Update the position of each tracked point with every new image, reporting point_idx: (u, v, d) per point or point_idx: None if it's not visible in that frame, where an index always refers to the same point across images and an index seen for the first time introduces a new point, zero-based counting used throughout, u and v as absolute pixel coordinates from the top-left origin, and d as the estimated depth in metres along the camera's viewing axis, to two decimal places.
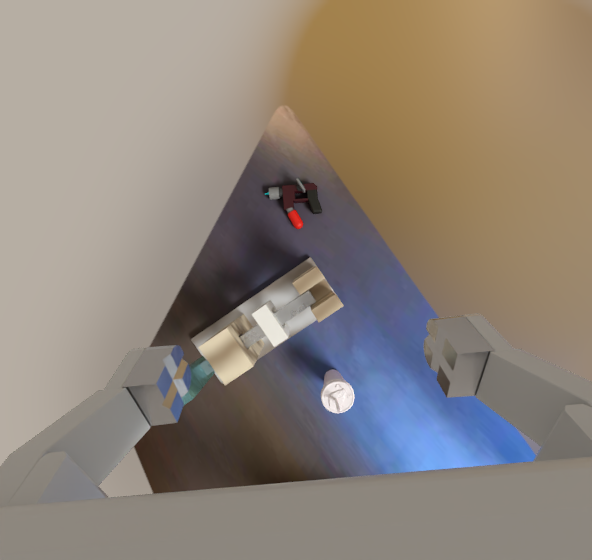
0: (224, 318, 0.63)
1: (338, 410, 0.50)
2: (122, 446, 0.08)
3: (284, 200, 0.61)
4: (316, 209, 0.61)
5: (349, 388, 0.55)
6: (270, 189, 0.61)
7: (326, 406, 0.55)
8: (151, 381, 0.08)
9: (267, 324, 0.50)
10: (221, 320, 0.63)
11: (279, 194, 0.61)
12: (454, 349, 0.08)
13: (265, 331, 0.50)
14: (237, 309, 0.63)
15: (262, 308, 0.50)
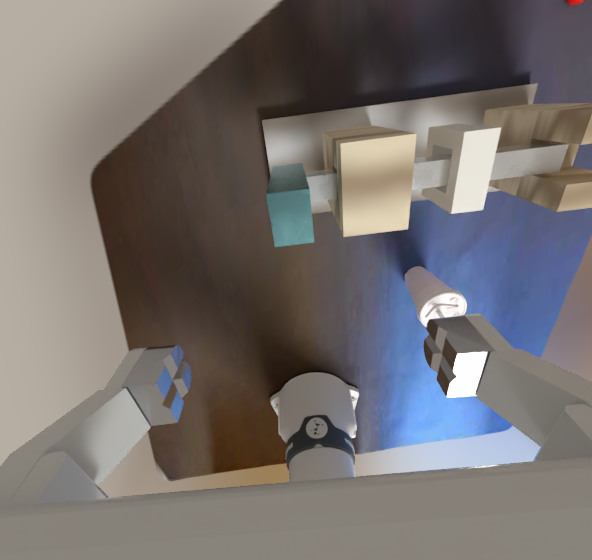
0: (336, 114, 0.34)
1: None
2: (122, 446, 0.08)
3: None
4: None
5: (464, 308, 0.39)
6: None
7: (422, 315, 0.39)
8: (151, 381, 0.08)
9: (473, 168, 0.25)
10: (330, 115, 0.34)
11: None
12: (454, 349, 0.08)
13: (460, 179, 0.26)
14: (366, 110, 0.34)
15: (490, 131, 0.24)
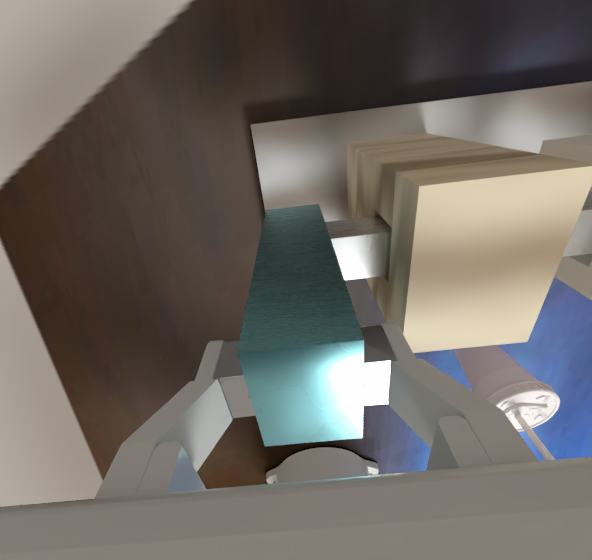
0: (372, 115, 0.21)
1: None
2: (211, 438, 0.08)
3: None
4: None
5: (555, 408, 0.26)
6: None
7: None
8: (241, 372, 0.08)
9: None
10: (361, 117, 0.21)
11: None
12: None
13: None
14: (420, 109, 0.21)
15: None
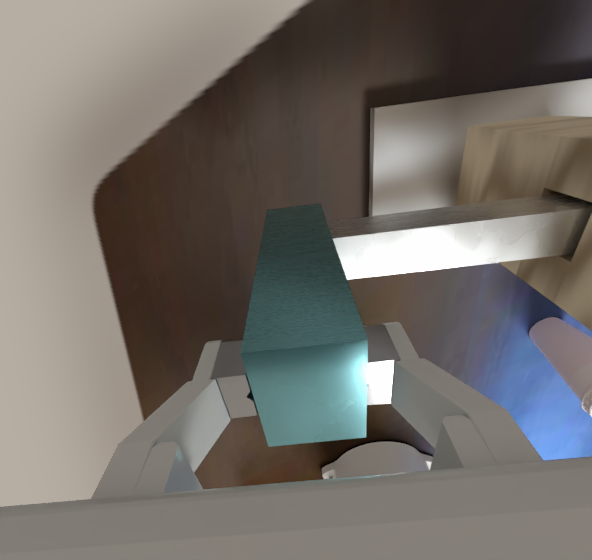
0: (498, 98, 0.21)
1: None
2: (209, 438, 0.08)
3: None
4: None
5: None
6: None
7: None
8: (239, 372, 0.08)
9: None
10: (487, 99, 0.21)
11: None
12: None
13: None
14: (548, 91, 0.20)
15: None
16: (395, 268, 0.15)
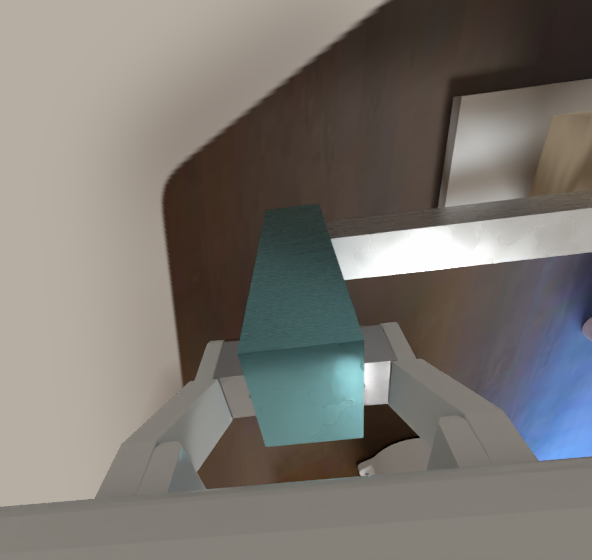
0: (587, 86, 0.20)
1: None
2: (211, 438, 0.08)
3: None
4: None
5: None
6: None
7: None
8: (241, 372, 0.08)
9: None
10: (576, 87, 0.20)
11: None
12: None
13: None
14: None
15: None
16: (394, 269, 0.15)
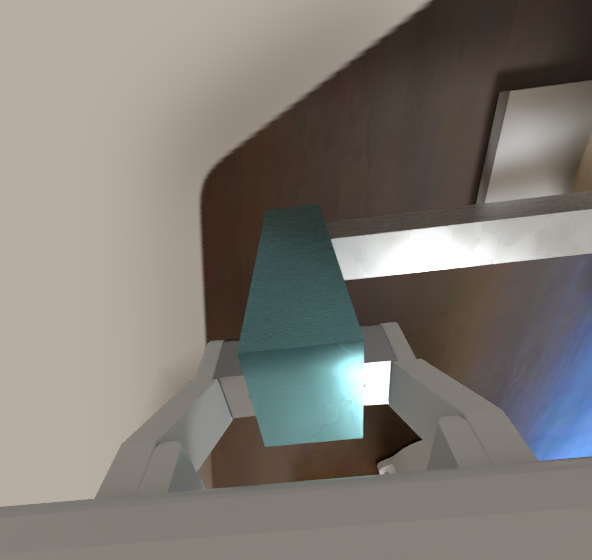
0: None
1: None
2: (211, 438, 0.08)
3: None
4: None
5: None
6: None
7: None
8: (241, 372, 0.08)
9: None
10: None
11: None
12: None
13: None
14: None
15: None
16: (393, 269, 0.15)
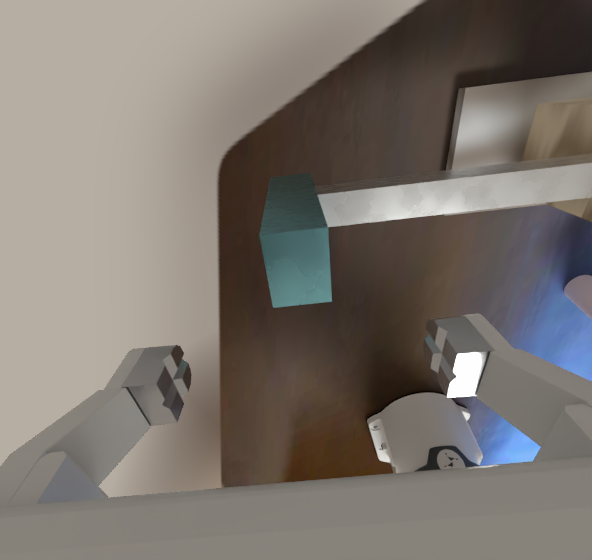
0: (564, 81, 0.26)
1: None
2: (122, 446, 0.08)
3: None
4: None
5: None
6: None
7: None
8: (151, 381, 0.08)
9: None
10: (555, 81, 0.26)
11: None
12: (454, 349, 0.08)
13: None
14: None
15: None
16: (363, 218, 0.20)
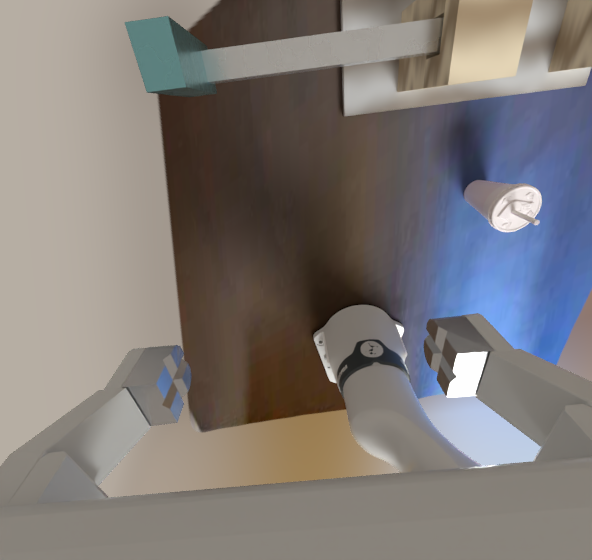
0: None
1: (536, 221, 0.34)
2: (122, 446, 0.08)
3: None
4: None
5: (538, 205, 0.38)
6: None
7: (494, 214, 0.38)
8: (151, 381, 0.08)
9: None
10: None
11: None
12: (454, 349, 0.08)
13: None
14: None
15: None
16: (241, 73, 0.27)
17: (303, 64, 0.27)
